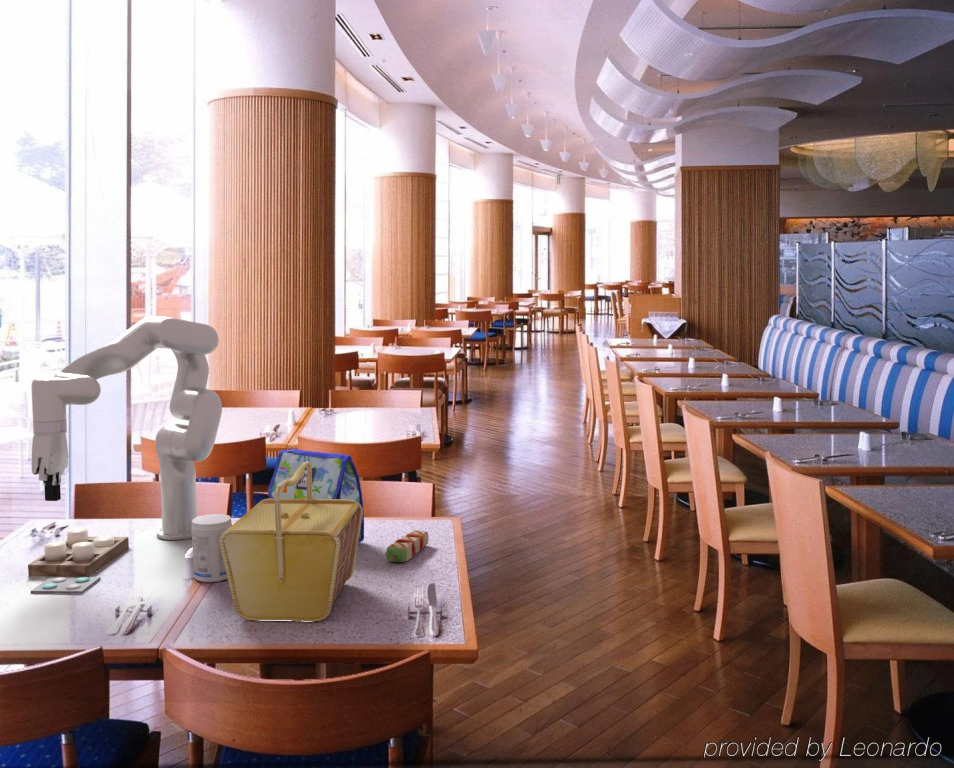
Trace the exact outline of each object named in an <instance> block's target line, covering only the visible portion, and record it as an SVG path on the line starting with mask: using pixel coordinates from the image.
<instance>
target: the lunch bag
mask: <svg viewBox="0 0 954 768" xmlns="http://www.w3.org/2000/svg"><path fill="white" fill-rule="evenodd" d="M306 461H309V462H310V463H311V467H312V499H344V500H354V501H356V502H358V503H359V504H360V505H361V506H362V508H363V516H362V522H361V528H360V534H359V539H358V544H359V543H362V542H363V541H364V540H365V511H364V503H363V502H364V501H363V493H362V487H361V481H360V476H359V474H358V470H357V468H356V466H355V464H354V460H353V458H352V456H351V455H349V454H346V453H345V454H344V453H338V452H337V453H335V452H334V453H333V452H331V453H330V452H321V451H312V450H311V451H310V450H303V449H298V448H291V449H282V450H280V451H279V452H278V456H277V459H276V463H275V466H274V471H273V475H272V477H271V479H270V482H269V486H268V489H267V497H268V499H269V498H274V496H275V490H276V487H277V486H278V484H279V483H281V482H282V481H284V480H287V479H291V478H292V477H293V475H294V474H295V472H296V471H297V469H298V468H299V467H300V466H301V465H302V464H303V463H304V462H306ZM280 499H307V468H305V470H304V475H303V476H302V478H301V480H300V481H299V482H298V483H297V484H295V485H294V486H284V487H283V488H282V490H281V495H280Z"/></svg>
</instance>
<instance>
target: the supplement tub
mask: <svg viewBox="0 0 954 768" xmlns="http://www.w3.org/2000/svg"><path fill="white" fill-rule="evenodd" d="M198 516H199V517H196V518H194V519H193V520H192V538H191V541H192V543H191V544H192V545H191V546H192V560H193V561H192V562H193V575H194V579H195V580H197V581H198V582H201V583H218V582H222V581H226V580H227V581H228V578H227V574H226V570H225V565H224V561H223V557H222V552H221V548H220V544H219V539H220V536H221V535H222V533H224V532H225V531H226V530H227V529H229V528H230V527H231V526H232V525H233V522H232V517H231V516H230V515H228V514H223V513H211V514H204V515H198Z"/></svg>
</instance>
